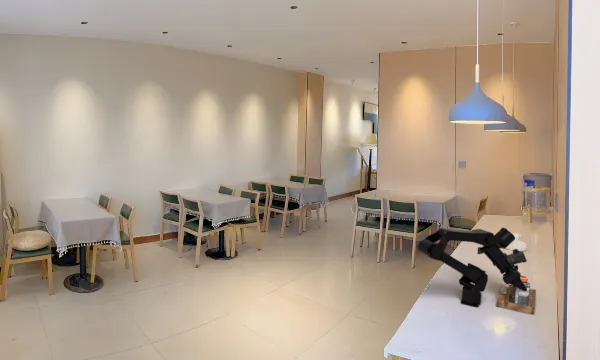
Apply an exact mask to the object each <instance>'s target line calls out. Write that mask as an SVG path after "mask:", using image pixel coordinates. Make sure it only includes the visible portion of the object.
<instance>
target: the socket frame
mask: <svg viewBox="0 0 600 360" xmlns="http://www.w3.org/2000/svg"><path fill="white" fill-rule="evenodd" d="M508 285H509V286H503V285H501V286H500V290H499V292H498V296H497V299H496V302H495V307H496V308H501V309H506V310H510V311H513V312H517V313H518V312H519V313H523V314H527V315H533V316H535V310H536V296H537V295H536V294H537V290H536V289H534V288H530V292H529V302H528V306H524V305H520V304H515V303H511V298H512V288H513V285H511V284H508Z"/></svg>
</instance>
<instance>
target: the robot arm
mask: <svg viewBox="0 0 600 360" xmlns="http://www.w3.org/2000/svg"><path fill="white" fill-rule="evenodd" d="M514 240H515V236H514V235H513V234H512V231H511V232H510V230H508V228H507V227H501V228H500V229H499V230H498V231H497V232H496V233H495V234H494V233H493V232H491V231H487V230H485V229H481V228H476V229H472V230H461V229H459V230H458V229H449V228H448V229H447V228H444V227H442V228H439V229H437V230H436V231H435V232H433V233H432V234H431V233H430V234H429V235H427V236H426V237H425V238H424V239H421V240H420V241H419V243H418V244H417V251H418V252H419V253H420V254H422V255H424V256H426V257H428V258H429V259H432V260H435V261H439V262H441V263H443V264H445V265H447V266H448V267H450V268H452V269H453V270H455V271H456V272H458V273H459V274H461V277H460V278H459V279H458V283H459V285H460V286H462V290H461V292H462V294H461V301H460V304H462V305H467V306H471V307H476V308H479V306H480V305H481V303H482V296H483V292H484V291H485V290H486V286H487V284H488V281H489V275H488V274H487V271H485V270H483V269H482V268H480V267H479V266H477V265H474V264H473V263H470V262H467V265H466V264H465V263H463V262H462V261H460V260H458V259H456V258H455V257H453V256H451V255H450V254H449V253H446V251H445V249H446V248H447V246H448V243H449V242H450V241H452V242H453V241H454V242H455V241H456V242H466V243H475V244H478V245H480V246H478V247H477V254H476V255H483V254H484V255H485V256H486V257H487V259H489V261H491V263H492V265H493V266H494V267H495V268H496V269H498V271H499V272H500V274H501V275H502V281H503V282H504V283H505V284H506V285H513V286H515V287H517V288H519V289H521V290H523V291H527V288H526V287H525V285H524V283H523V282H522V280H521V279H520V276H521V275H522V274H521V272H520V271H519V265H518V264H522V263H527V261H528V260H527V258H526V256H525V253H524V251H519V250H518V249H514V250H512V253H510V254H507V253H506V252H504V251H502V249H503V250H505V249H506V247H507V246H509V245H510V244H511V243H512V242H513V241H514ZM438 241H439V242H438ZM436 242H437V243H436Z"/></svg>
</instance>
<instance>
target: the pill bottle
mask: <svg viewBox="0 0 600 360" xmlns="http://www.w3.org/2000/svg"><path fill="white" fill-rule="evenodd" d="M520 279H521V280H522V282H523V283H524V285H525V287H526V288H527V291H523V290H521V289H519V288H517V287H515V286H513V288H512V298H511V303H515V304H520V305H524V306H528V302H529V292H530V289H531V284H530V283H529V277H528V276H526V275H523V274H521V276H520Z"/></svg>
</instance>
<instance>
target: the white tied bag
mask: <svg viewBox="0 0 600 360" xmlns="http://www.w3.org/2000/svg"><path fill="white" fill-rule="evenodd" d="M511 233H512V232H511ZM512 234H513V235H514V236H515V240H514V241H513V242H512V243H511V244H510V245H509V246H507V247H506V248H505V249H506V250H509V251H512V252H513V250H514V249H518V250H519V251H520V252H521V251H523V252H525V251H526V249H527V247H528V243H526V242H524V241H523V240H520V238H521V237H522V234H520V233H519V232H513V233H512Z"/></svg>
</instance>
